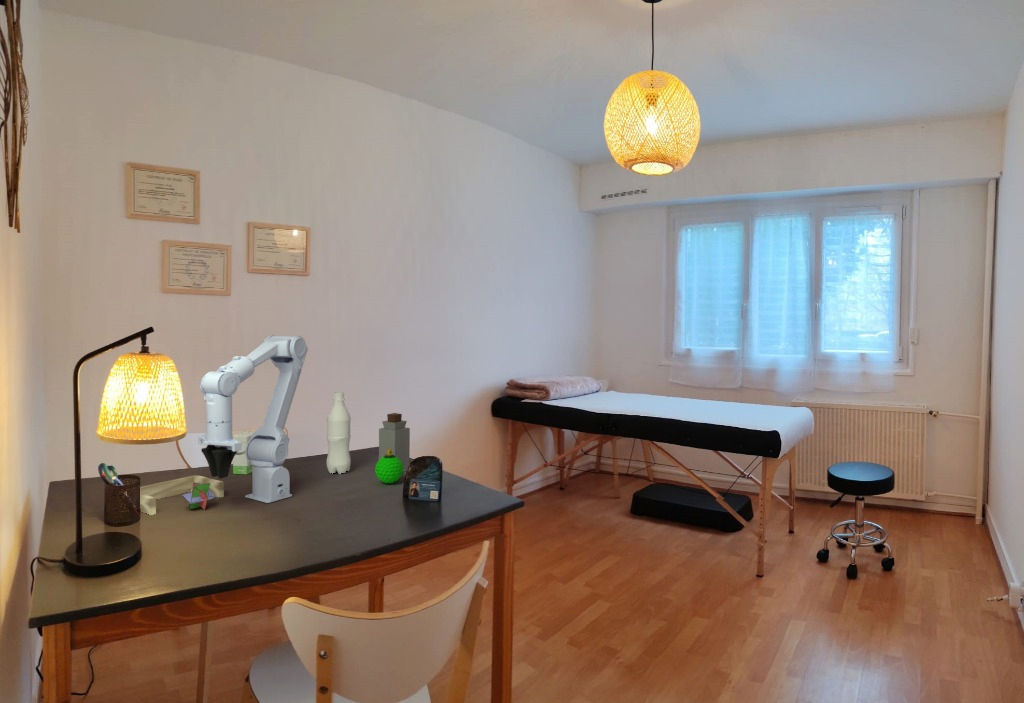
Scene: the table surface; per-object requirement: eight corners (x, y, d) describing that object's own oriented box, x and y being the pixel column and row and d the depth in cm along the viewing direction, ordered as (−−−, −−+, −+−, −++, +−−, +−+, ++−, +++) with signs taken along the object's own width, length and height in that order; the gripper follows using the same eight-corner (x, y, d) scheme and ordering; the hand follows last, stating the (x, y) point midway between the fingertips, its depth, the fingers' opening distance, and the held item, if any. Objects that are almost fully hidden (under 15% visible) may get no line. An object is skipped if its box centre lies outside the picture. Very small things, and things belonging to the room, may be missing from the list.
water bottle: (326, 470, 198) (326, 391, 196) (349, 469, 200) (350, 390, 198) (326, 476, 191) (326, 394, 189) (351, 474, 193) (351, 393, 191)
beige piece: (223, 496, 168) (223, 481, 168) (151, 515, 152) (150, 499, 151) (196, 488, 175) (195, 474, 174) (123, 506, 158) (123, 490, 158)
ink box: (247, 474, 191) (247, 436, 190) (232, 474, 191) (231, 435, 190) (262, 468, 199) (261, 431, 198) (247, 467, 200) (247, 430, 199)
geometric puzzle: (224, 500, 157) (213, 472, 160) (197, 507, 152) (186, 478, 154) (211, 513, 161) (200, 485, 163) (185, 520, 155) (174, 491, 157)
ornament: (390, 488, 179) (390, 453, 178) (369, 484, 183) (369, 450, 182) (409, 482, 186) (409, 448, 185) (388, 478, 190) (388, 445, 189)
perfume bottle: (409, 469, 200) (409, 413, 199) (394, 474, 195) (395, 416, 194) (393, 466, 204) (393, 411, 203) (378, 471, 198) (379, 414, 197)
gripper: (185, 420, 152) (186, 475, 153) (222, 426, 145) (222, 485, 145) (212, 416, 158) (213, 469, 159) (249, 422, 151) (249, 478, 151)
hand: (219, 476), depth 153 cm, fingers closed
